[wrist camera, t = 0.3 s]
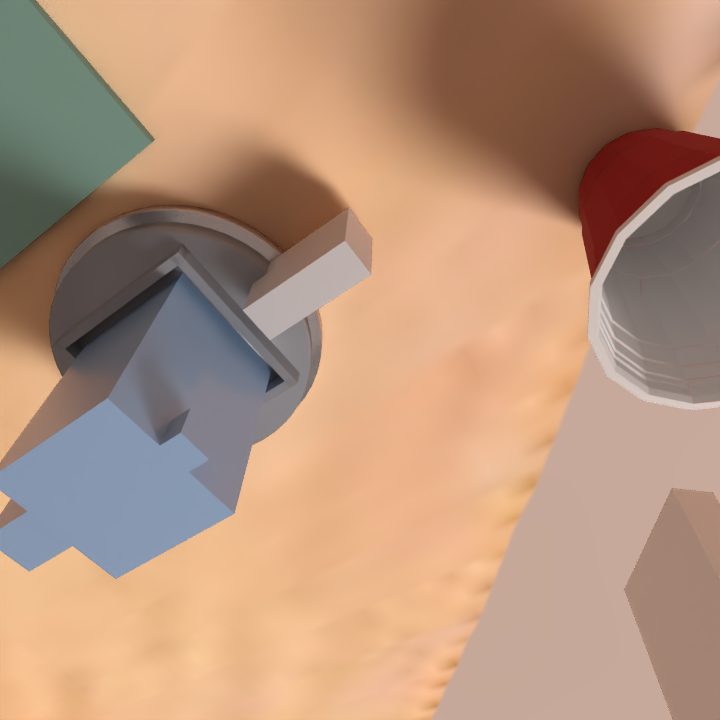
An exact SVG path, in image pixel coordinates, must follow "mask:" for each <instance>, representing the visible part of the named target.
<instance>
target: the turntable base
mask: <svg viewBox="0 0 720 720" xmlns="http://www.w3.org/2000/svg"><path fill="white" fill-rule="evenodd" d="M155 222H178V223H188V224H194V225H199V226H203V227H208V228H211V229H214V230H217V231H219V232H222V233H225V234H228V235H230V236H232V237H234V238H236V239H238V240H240V241H242V242H244V243H245V244H247V245H248V246H250V247H252V248H253V249H255V250H256V251H258V252H259V253H260V254H262V255H263V256H264V257H265V258H266V259H268V260H269V261H270V262H271V261H273V260H274V259H276V258H277V257H278V256H280V255H281V254H283V253H284V251H283V250H282V249H281V248H280V247H278V246H277V245H276V244H275V243H274V242H272V241H271V240H270V239H269V238H268V237H266V236H265V235H263V234H262V233H260V232H259V231H257V230H256V229H254V228H252V227H251V226H249V225H247V224H245V223H243V222H241V221H239V220H237V219H235V218H232V217H230V216H227V215H224V214H221V213H218V212H216V211H211V210H207V209H202V208H198V207H190V206H180V205H166V206H154V207H147V208H141V209H138V210H134V211H131V212H128V213H125V214H122V215H120V216H118V217H116V218H114V219H112V220H109V221H108V222H106V223H105V224H103V225H102V226H100V227H99V228H97V229H96V230H94V231H93V232H92V233H91V234H90V235H89V236H88V237H87V238H86V239H85V240H84V241H83V242H82V243H81V244H80V245H79V246H78V247H77V248H76V249H75V251H74V252H73V253H72V255H71V256H70V257H69V259H68V260H67V262H66V264H65V266H64V268H63V270H62V272H61V274H60V277H59V280H58V283H57V286H56V290H55V294H56V292H57V290H58V288H59V286H60V284H61V282H62V280H63V279H64V277H65V276H66V275H67V273H68V272H69V271H70V270H71V268H72V267H73V266H74V265H75V264H76V263H77V262H78V261H79V260H80V259H81V258H82V257H83V256H84V255H85V254H86V253H87V252H88V251H89V250H90V249H91V248H92V247H93V246H94V245H96V244H97V243H99V242H100V241H102V240H103V239H105V238H106V237H108V236H110V235H112V234H114V233H116V232H119V231H121V230H124V229H127V228H130V227H133V226H137V225H142V224H148V223H155ZM307 318H308V322H309V326H310V330H311V339H312V355H311V364H310V370H309V376H308V380H307V385H306V388H305V391H304V393H303V396H302V399H301V401H302V400H303V399H304V398H305V396H306V395H307V393H308V391H309V389H310V388H311V386H312V384H313V381H314V379H315V376H316V374H317V371H318V366H319V362H320V357H321V350H322V324H321V318H320V314H319V309H317V310H316V311H314V312H313V313H311V314H310V315H308V316H307ZM301 401H300V402H299V404H300V403H301ZM299 404H298V405H299Z"/></svg>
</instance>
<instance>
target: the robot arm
mask: <svg viewBox="0 0 720 720" xmlns="http://www.w3.org/2000/svg"><path fill="white" fill-rule="evenodd" d="M625 593H626V595H627V598H628V601H629V603H630V606H631V608H632V611H633V614H634V617H635V620H636V622H637V625H638V628H639V630H640V633H641V636H642V638H643V641H644V643H645V646H646V649H647V652H648V654H649V657H650V660H651V662H652V665H653V668H654V671H655V673H656V676H657V678H658V681H659V684H660V687H661V689H662V692H663V695H664V697H665V700H666V702H667V705H668V708H669V711H670V714H671V716H672V719H673V720H720V504H719V502H718V500H717V499H716V497H715V495H714V494H713V493H712V492H702V491H693V490H683V489H675V488H672V489H671V491H670V493H669V496H668V498H667V500H666V502H665V504H664V506H663V508H662V511H661V512H660V515H659V517H658V519H657V521H656V523H655V525H654V528H653V529H652V532H651V534H650V536H649V538H648V540H647V543H646V544H645V547H644V549H643V551H642V553H641V555H640V558H639V559H638V562H637V564H636V566H635V568H634V570H633V572H632V574H631V576H630V579H629V581H628V583H627V585H626V587H625Z"/></svg>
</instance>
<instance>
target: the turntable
mask: <svg viewBox="0 0 720 720" xmlns="http://www.w3.org/2000/svg"><path fill="white" fill-rule="evenodd" d="M371 265H372V237H371V236H370V235H369V233H368V232H367V231H366V229H365V228H364V227H363V225H362V224H361V223H360V221H359V220H358V219H357V217H356V216H355V215H354V213H353V212H352V211H351V209H350V208H347V209H346V210H344V211H343V212H342V213H340V214H339V215H337V216H336V217H334V218H333V219H331V220H330V221H329V222H327V223H326V224H324V225H323V226H321V227H320V228H319V229H317V230H316V231H314V232H313V233H311V234H310V235H309V236H307V237H306V238H304V239H303V240H301V241H300V242H299V243H297V244H296V245H294V246H293V247H291V248H290V249H288V250H287V251H286V252H284V253H283V254H281V255H280V256H278V257H277V258H276V259H274V260H273V261H271V262H270V261H269V260H268V259H266V258H265V257H264V256H263V255H262V254H260V253H259V252H258V251H256V250H255V249H253V248H252V247H250V246H248V245H247V244H245V243H244V242H242V241H240V240H238V239H236V238H234V237H232V236H230V235H228V234H225V233H222V232H219V231H217V230H214V229H211V228H208V227H203V226H199V225H194V224H188V223H178V222H155V223H148V224H142V225H137V226H133V227H130V228H127V229H124V230H121V231H119V232H116V233H114V234H112V235H110V236H108V237H106V238H105V239H103V240H102V241H100V242H99V243H97V244H96V245H94V246H93V247H92V248H91V249H90V250H89V251H88V252H87V253H86V254H85V255H84V256H83V257H82V258H81V259H80V260H79V261H78V262H77V263H76V264H75V265H74V266H73V267H72V268H71V270H70V271H69V272H68V273H67V275H66V276H65V277H64V279H63V280H62V282H61V284H60V286H59V288H58V290H57V292H56V294H55V297H54V300H53V303H52V306H51V313H50V320H49V334H50V342H51V347H52V352H53V355H54V358H55V361H56V364H57V367H58V369H59V371H60V373H61V375H62V377H63V376H64V374H65V373H66V371H67V370H68V369H69V367H70V366H71V365H72V363H73V362H74V361H75V359H76V358H77V356H78V355H79V354H80V352H81V351H82V350H83V348H84V347H85V345H86V344H87V343H88V342H89V341H90V340H91V339H93V338H94V337H95V336H97V335H98V334H99V333H101V332H102V331H104V330H105V329H106V328H108V327H109V326H110V325H112V324H113V323H115V322H116V321H117V320H119V319H120V318H121V317H123V316H124V315H125V314H127V313H128V312H130V311H131V310H132V309H134V308H135V307H136V306H138V305H139V304H141V303H142V302H143V301H145V300H146V299H147V298H149V297H150V296H151V295H153V294H154V293H156V292H157V291H158V290H160V289H161V288H162V287H164V286H165V285H166V284H168V283H169V282H171V281H172V280H173V279H175V278H176V277H177V276H179V275H180V274H182V273H183V274H184V275H185V276H186V277H187V278H188V279H189V280H190V281H191V282H192V283H193V285H194V286H195V287H196V288H197V289H198V290H199V291H200V292H201V293H202V294H203V295H204V296H205V298H206V299H207V300H208V301H209V302H210V303H211V304H212V305H213V306H214V307H215V308H216V309H217V310H218V312H219V313H220V314H221V315H222V316H223V317H224V318H225V319H226V320H227V321H228V322H229V323H230V325H231V326H232V327H233V328H234V329H235V330H236V331H237V332H238V333H239V334H240V335H241V336H242V337H243V339H244V340H245V341H246V342H247V343H248V344H249V345H250V346H251V347H252V348H253V349H254V350H255V352H256V353H257V354H258V355H259V356H260V357H261V358H262V359H263V360H264V361H265V362H266V363H267V364H268V366H269V367H270V368H271V373H270V377H269V381H268V385H267V389H266V392H265V396H264V400H263V404H262V408H261V412H260V416H259V420H258V424H257V427H256V431H255V435H254V439H253V443H252V445H253V444H255V443H257V442H259V441H261V440H263V439H265V438H266V437H268V436H269V435H271V434H272V433H274V432H275V431H276V430H277V429H279V428H280V427H281V426H282V425H283V424H284V423H285V422H286V421H287V420H288V419H289V417H290V416H291V415H292V414H293V412H294V411H295V409H296V408H297V406H298V404H299V402H300V401H301V399H302V396H303V393H304V391H305V388H306V385H307V380H308V376H309V370H310V364H311V355H312V339H311V330H310V326H309V322H308V318H307V316H308V315H310V314H311V313H313V312H314V311H316V310H317V309H319V308H320V307H322V306H324V305H325V304H327V303H328V302H330V301H331V300H333V299H334V298H336V297H337V296H339V295H341V294H342V293H344V292H345V291H347V290H348V289H350V288H351V287H353V286H354V285H356V284H358V283H359V282H361V281H362V280H364V279H365V278H367V277H368V276H370V275H371Z"/></svg>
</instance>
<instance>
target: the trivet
mask: <svg viewBox="0 0 720 720" xmlns="http://www.w3.org/2000/svg"><path fill="white" fill-rule="evenodd" d="M154 140H155V139H154V138H153V137H152V136H151V135H150V133H149V132H148V131H147V130H146V129H145V128H144V126H143V125H142V124H141V123H140V122H139V121H138V119H137V118H136V117H135V116H134V115H133V114H132V112H131V111H130V110H129V109H128V108H127V107H126V105H125V104H124V103H123V102H122V101H121V99H120V98H119V97H118V96H117V95H116V94H115V92H114V91H113V90H112V89H111V88H110V87H109V85H108V84H107V83H106V82H105V81H104V80H103V78H102V77H101V76H100V75H99V74H98V73H97V71H96V70H95V69H94V68H93V67H92V66H91V64H90V63H89V62H88V61H87V60H86V59H85V57H84V56H83V55H82V54H81V53H80V52H79V50H78V49H77V48H76V47H75V46H74V45H73V43H72V42H71V41H70V40H69V39H68V38H67V36H66V35H65V34H64V33H63V32H62V31H61V29H60V28H59V27H58V26H57V25H56V24H55V22H54V21H53V20H52V19H51V18H50V17H49V15H48V14H47V13H46V12H45V11H44V10H43V8H42V7H41V6H40V5H39V4H38V3H37V1H36V0H0V269H1V268H2V267H3V266H4V265H5V264H7V263H8V262H9V261H10V260H11V259H13V258H14V257H15V256H16V255H17V254H19V253H20V252H21V251H22V250H23V249H25V248H26V247H27V246H28V245H29V244H31V243H32V242H33V241H34V240H35V239H37V238H38V237H39V236H40V235H41V234H43V233H44V232H45V231H46V230H47V229H49V228H50V227H51V226H52V225H53V224H55V223H56V222H57V221H58V220H59V219H61V218H62V217H63V216H64V215H65V214H67V213H68V212H69V211H70V210H71V209H72V208H74V207H75V206H76V205H77V204H78V203H80V202H81V201H82V200H83V199H84V198H86V197H87V196H88V195H89V194H90V193H92V192H93V191H94V190H95V189H96V188H98V187H99V186H100V185H101V184H102V183H104V182H105V181H106V180H107V179H108V178H110V177H111V176H112V175H113V174H114V173H116V172H117V171H118V170H119V169H120V168H122V167H123V166H124V165H125V164H126V163H128V162H129V161H130V160H131V159H132V158H134V157H135V156H136V155H137V154H138V153H140V152H141V151H142V150H143V149H144V148H146V147H147V146H148V145H149V144H150V143H152V142H153V141H154Z"/></svg>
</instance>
